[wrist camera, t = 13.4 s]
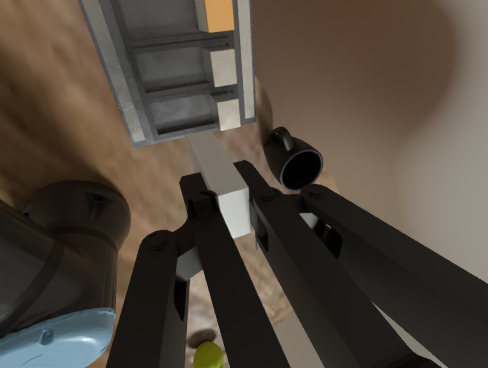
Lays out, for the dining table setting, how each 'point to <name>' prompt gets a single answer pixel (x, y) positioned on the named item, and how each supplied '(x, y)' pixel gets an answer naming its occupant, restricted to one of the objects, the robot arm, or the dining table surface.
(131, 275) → the robot arm
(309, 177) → the mug
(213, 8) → the block
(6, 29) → the dining table surface
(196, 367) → the fruit
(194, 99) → the panel
